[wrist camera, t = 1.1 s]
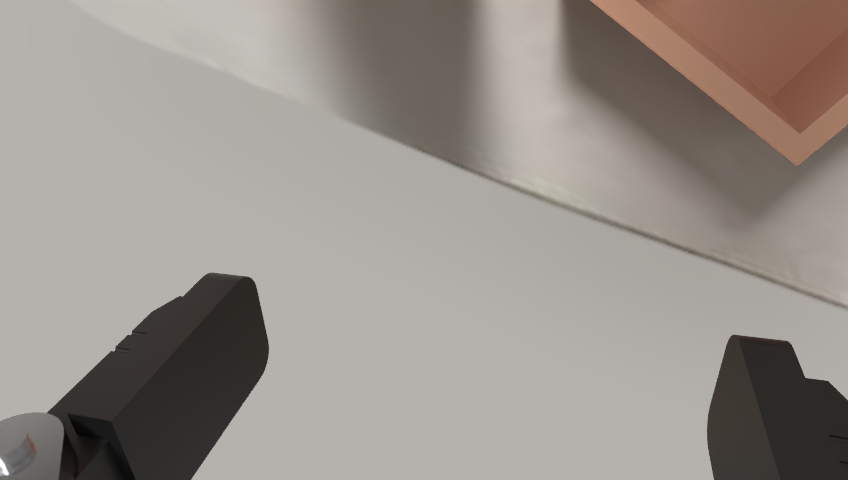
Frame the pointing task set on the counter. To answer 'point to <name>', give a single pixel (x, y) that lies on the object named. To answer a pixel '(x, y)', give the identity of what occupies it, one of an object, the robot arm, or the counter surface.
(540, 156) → the counter surface
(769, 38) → the wooden chest box
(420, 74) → the counter surface
